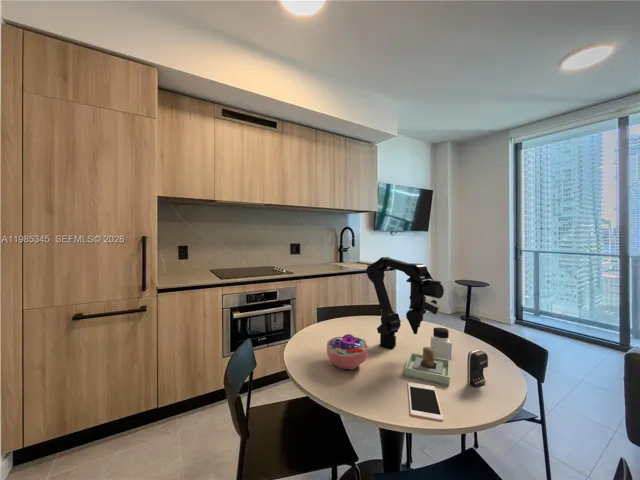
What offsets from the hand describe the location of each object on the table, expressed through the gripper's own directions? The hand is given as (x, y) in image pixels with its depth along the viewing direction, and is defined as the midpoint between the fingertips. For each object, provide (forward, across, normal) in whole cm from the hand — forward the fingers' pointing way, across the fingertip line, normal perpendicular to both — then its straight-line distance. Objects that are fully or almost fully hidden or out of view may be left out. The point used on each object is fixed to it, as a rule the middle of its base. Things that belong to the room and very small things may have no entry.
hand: (416, 330), depth 117 cm
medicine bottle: (+12, +8, -9) cm, 17 cm away
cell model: (+12, -19, +24) cm, 33 cm away
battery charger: (+12, -11, -22) cm, 27 cm away
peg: (+11, -9, -6) cm, 16 cm away
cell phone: (+13, -30, -6) cm, 33 cm away
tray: (+12, -10, -6) cm, 16 cm away
